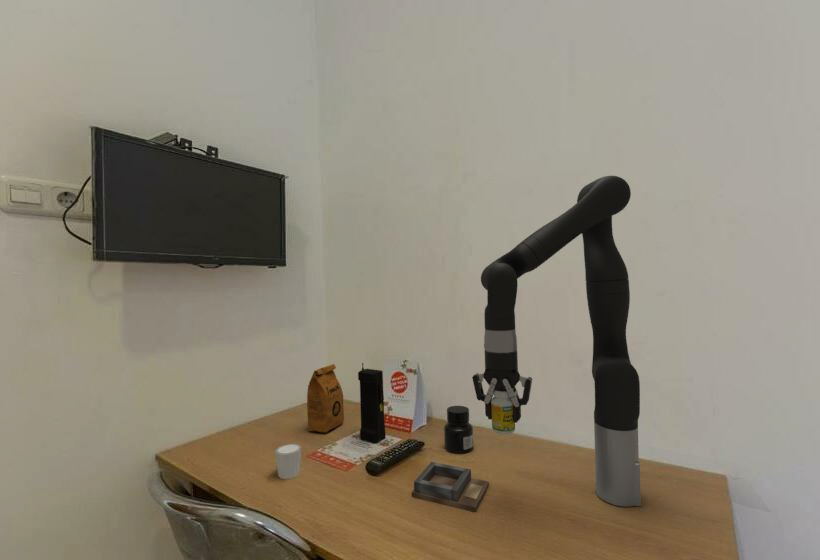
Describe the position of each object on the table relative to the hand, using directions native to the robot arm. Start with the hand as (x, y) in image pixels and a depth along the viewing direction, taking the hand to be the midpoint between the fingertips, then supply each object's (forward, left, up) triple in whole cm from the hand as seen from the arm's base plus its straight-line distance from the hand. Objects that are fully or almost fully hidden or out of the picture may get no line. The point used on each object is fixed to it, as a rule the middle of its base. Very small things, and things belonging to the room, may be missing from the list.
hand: (503, 419), depth 93 cm
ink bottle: (+19, -23, -19) cm, 36 cm away
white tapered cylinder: (+57, +10, -19) cm, 61 cm away
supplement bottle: (0, 0, -3) cm, 3 cm away
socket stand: (+13, +1, -19) cm, 23 cm away
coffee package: (+68, -21, -19) cm, 74 cm away
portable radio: (+47, -19, -19) cm, 54 cm away
